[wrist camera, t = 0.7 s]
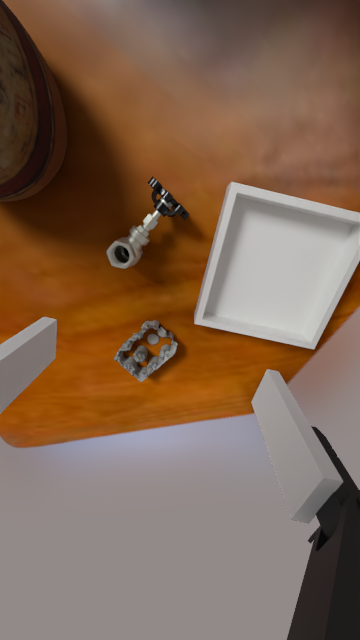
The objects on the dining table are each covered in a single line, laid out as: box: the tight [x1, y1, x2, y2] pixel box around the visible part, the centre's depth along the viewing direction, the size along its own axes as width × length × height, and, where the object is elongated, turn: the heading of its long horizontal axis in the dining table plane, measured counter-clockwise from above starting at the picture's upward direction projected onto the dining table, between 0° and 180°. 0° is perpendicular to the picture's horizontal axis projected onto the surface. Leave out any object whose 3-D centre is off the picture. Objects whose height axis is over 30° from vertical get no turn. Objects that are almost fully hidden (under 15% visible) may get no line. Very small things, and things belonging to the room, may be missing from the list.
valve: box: [106, 177, 189, 269], centre depth 32 cm, size 7×7×12 cm
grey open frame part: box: [114, 320, 178, 382], centre depth 41 cm, size 11×8×4 cm
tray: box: [194, 182, 360, 349], centre depth 35 cm, size 20×20×4 cm
